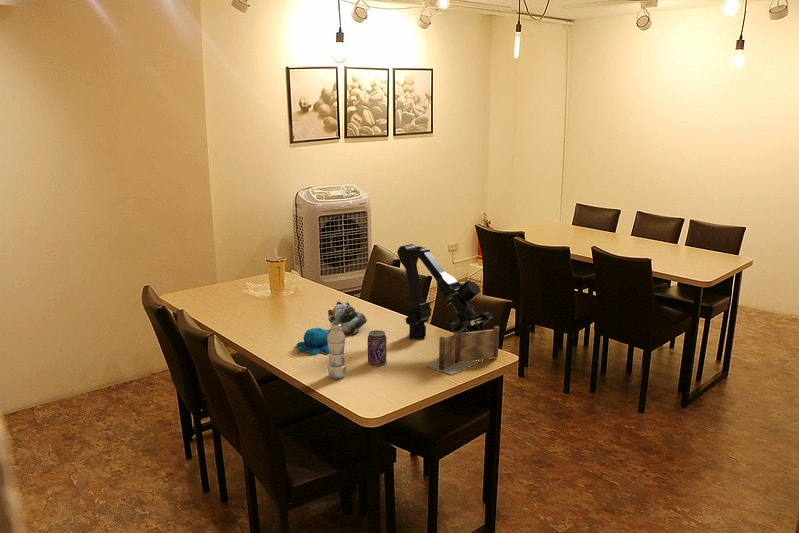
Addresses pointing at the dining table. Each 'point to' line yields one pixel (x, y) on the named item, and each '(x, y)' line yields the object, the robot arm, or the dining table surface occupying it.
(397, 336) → the dining table surface
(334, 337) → the plastic bottle
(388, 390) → the dining table surface
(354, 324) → the grey stuffed animal
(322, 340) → the plush toy
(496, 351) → the fence panel
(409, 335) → the robot arm
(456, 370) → the card
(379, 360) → the beverage can
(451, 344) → the fence fixed
